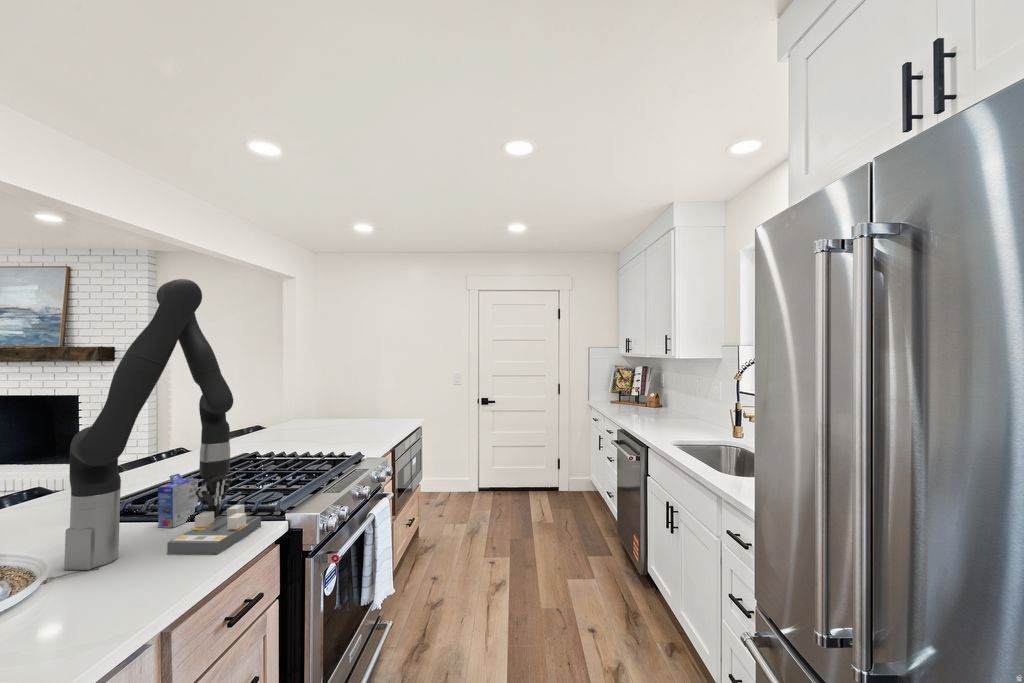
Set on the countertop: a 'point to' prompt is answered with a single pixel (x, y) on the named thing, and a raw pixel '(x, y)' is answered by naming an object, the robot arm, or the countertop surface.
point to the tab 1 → (204, 519)
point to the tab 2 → (236, 521)
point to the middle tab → (235, 510)
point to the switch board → (212, 537)
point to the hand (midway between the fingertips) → (213, 517)
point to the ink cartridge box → (176, 501)
